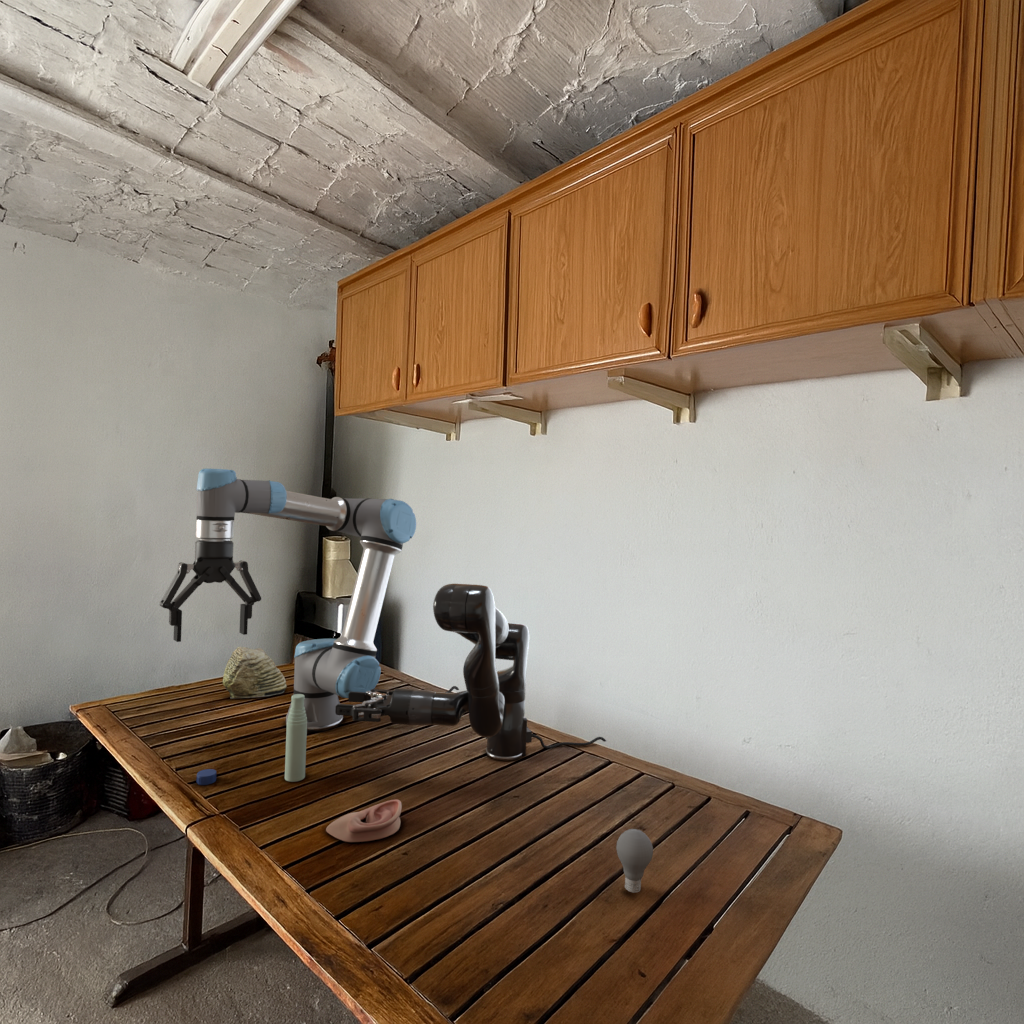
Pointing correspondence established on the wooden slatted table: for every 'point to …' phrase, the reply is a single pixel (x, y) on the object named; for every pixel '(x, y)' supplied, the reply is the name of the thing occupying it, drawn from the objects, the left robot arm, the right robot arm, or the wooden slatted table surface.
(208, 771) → the cap
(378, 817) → the anatomical model
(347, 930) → the wooden slatted table surface
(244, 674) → the fossil
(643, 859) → the light bulb
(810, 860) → the wooden slatted table surface
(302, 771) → the bottle
